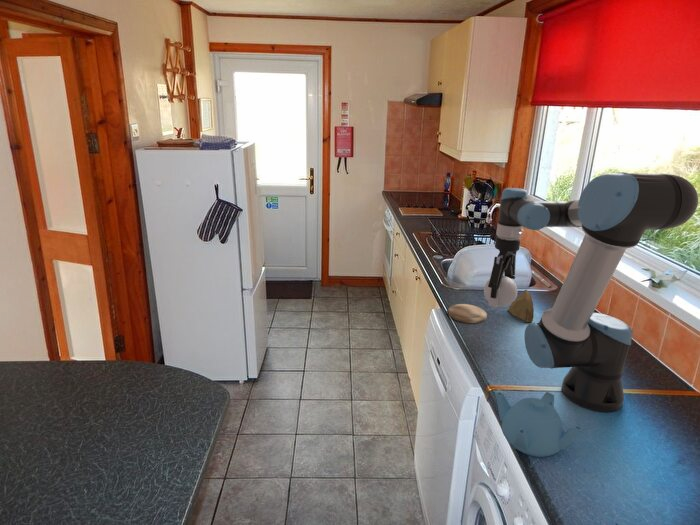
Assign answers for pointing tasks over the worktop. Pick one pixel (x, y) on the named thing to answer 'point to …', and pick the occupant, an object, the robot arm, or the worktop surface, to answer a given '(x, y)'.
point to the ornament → (503, 292)
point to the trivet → (467, 313)
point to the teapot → (534, 425)
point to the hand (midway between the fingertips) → (499, 301)
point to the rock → (523, 307)
